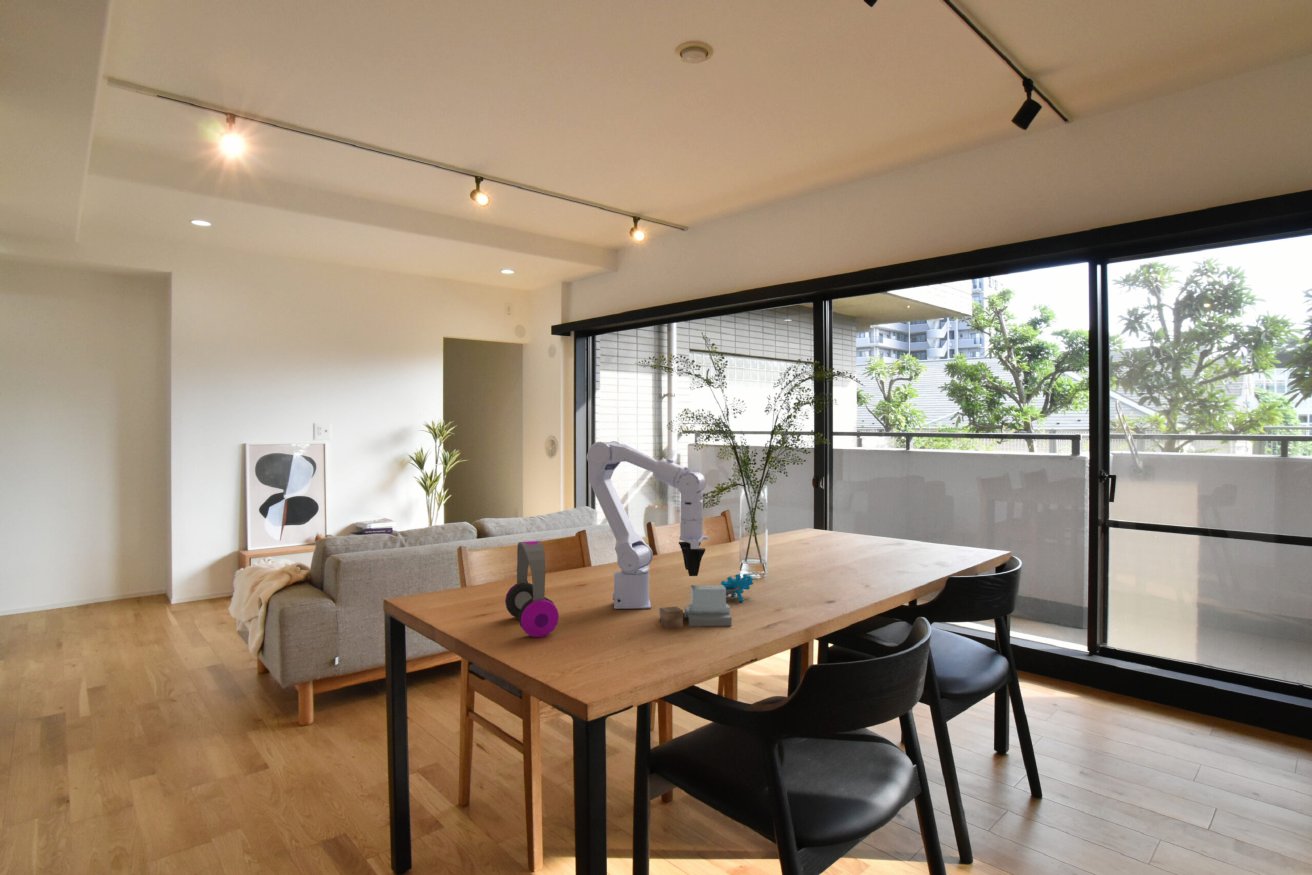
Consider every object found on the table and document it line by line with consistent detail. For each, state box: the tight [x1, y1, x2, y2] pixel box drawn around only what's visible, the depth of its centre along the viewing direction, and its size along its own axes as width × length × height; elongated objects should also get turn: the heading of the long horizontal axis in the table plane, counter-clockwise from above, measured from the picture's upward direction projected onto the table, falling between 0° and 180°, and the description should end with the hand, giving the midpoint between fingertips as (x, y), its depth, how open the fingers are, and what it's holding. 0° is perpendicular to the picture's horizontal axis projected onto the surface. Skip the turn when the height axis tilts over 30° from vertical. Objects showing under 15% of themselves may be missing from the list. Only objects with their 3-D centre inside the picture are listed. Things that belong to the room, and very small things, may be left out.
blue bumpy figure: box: [720, 573, 754, 603], centre depth 184 cm, size 11×6×10 cm
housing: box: [686, 584, 731, 615], centre depth 164 cm, size 10×4×6 cm, turn 94°
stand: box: [684, 606, 733, 627], centre depth 164 cm, size 10×10×2 cm
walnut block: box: [660, 605, 684, 630], centre depth 160 cm, size 4×4×4 cm
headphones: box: [504, 540, 560, 638], centre depth 159 cm, size 21×9×20 cm, turn 23°
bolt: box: [658, 607, 686, 621], centre depth 165 cm, size 6×3×3 cm, turn 94°
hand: (691, 572), depth 172 cm, fingers open, 7 cm apart
